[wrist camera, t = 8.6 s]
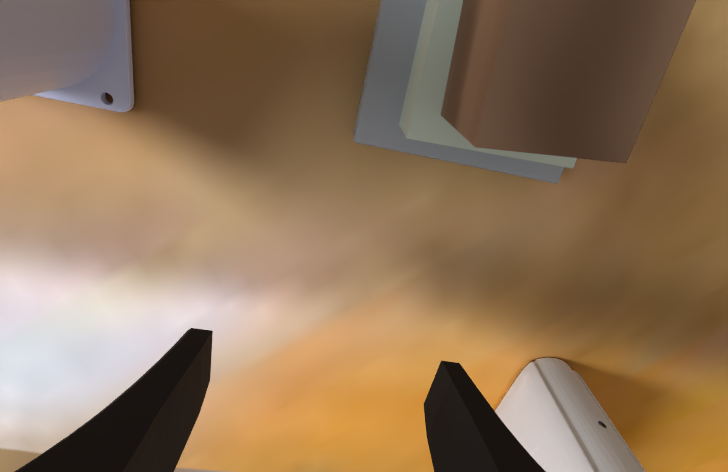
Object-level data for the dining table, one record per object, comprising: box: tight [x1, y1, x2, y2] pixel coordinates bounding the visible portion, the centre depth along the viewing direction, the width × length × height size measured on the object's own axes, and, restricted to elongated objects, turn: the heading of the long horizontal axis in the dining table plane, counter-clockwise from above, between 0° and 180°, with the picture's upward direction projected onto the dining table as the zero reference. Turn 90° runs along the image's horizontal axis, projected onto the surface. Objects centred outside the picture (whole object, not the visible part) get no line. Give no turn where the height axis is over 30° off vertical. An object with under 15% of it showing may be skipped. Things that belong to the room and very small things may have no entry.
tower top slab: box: [399, 0, 577, 168], centre depth 15 cm, size 7×7×2 cm
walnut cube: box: [441, 0, 696, 163], centre depth 12 cm, size 4×4×4 cm
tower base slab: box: [353, 0, 565, 184], centre depth 18 cm, size 10×10×2 cm
